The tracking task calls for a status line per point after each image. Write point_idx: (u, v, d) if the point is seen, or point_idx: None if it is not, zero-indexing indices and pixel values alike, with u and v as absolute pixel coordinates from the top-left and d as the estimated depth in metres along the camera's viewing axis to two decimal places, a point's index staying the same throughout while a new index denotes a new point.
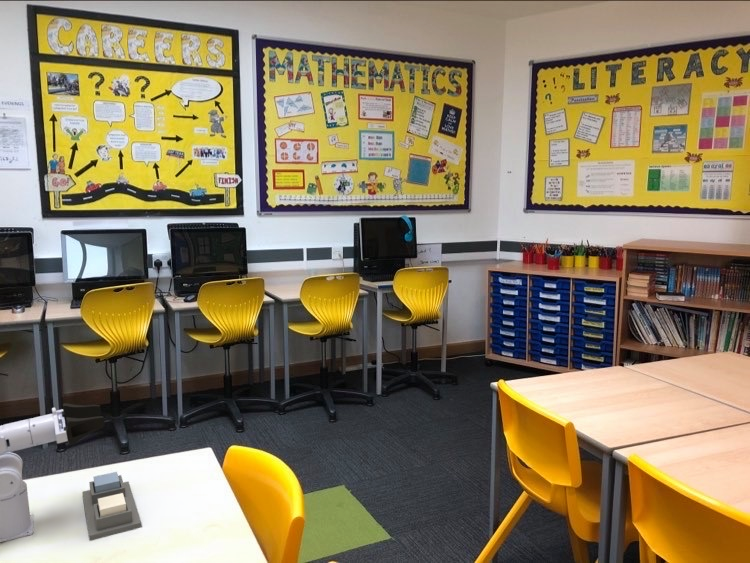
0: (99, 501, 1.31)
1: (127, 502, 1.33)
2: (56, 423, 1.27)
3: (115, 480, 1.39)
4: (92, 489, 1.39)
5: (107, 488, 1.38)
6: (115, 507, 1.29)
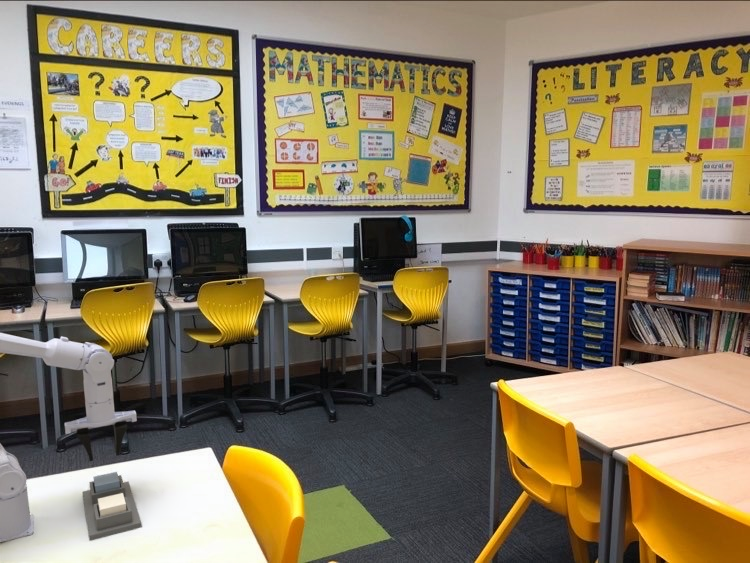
0: (99, 501, 1.31)
1: (127, 502, 1.33)
2: None
3: (115, 480, 1.39)
4: (92, 489, 1.39)
5: (107, 488, 1.38)
6: (115, 507, 1.29)
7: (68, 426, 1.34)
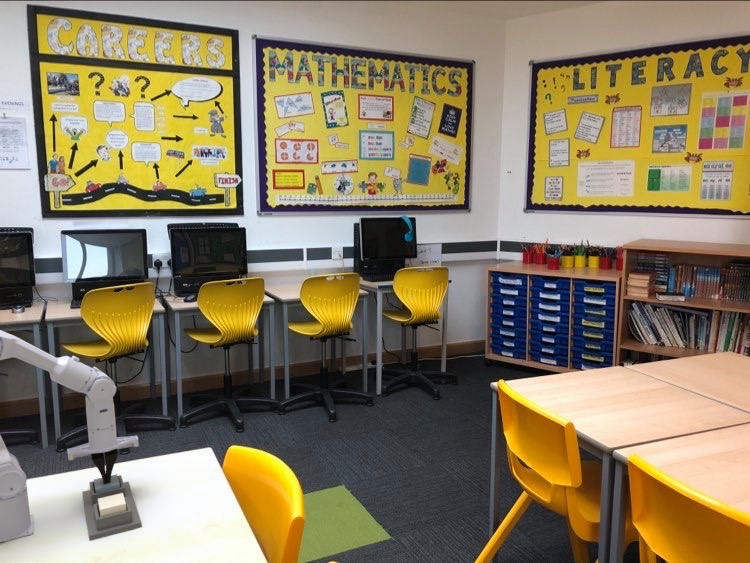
0: (99, 501, 1.31)
1: (127, 502, 1.33)
2: None
3: (116, 483, 1.40)
4: (92, 489, 1.39)
5: None
6: (115, 507, 1.29)
7: (71, 452, 1.35)
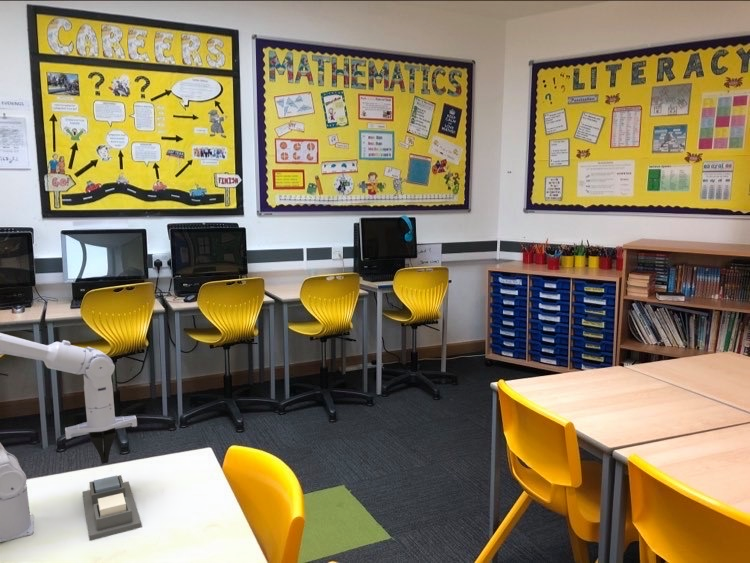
0: (99, 501, 1.31)
1: (127, 502, 1.33)
2: None
3: (116, 484, 1.40)
4: (92, 489, 1.39)
5: None
6: (115, 507, 1.29)
7: (68, 431, 1.34)
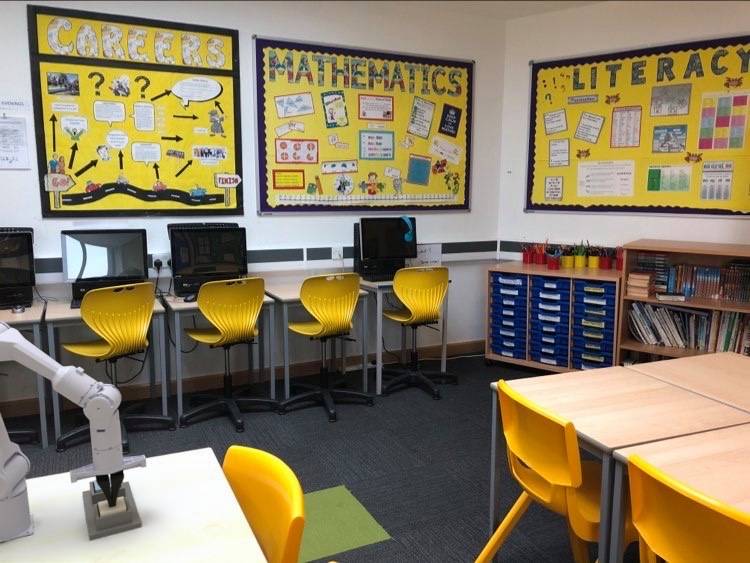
0: (99, 505, 1.31)
1: (127, 502, 1.33)
2: None
3: None
4: (92, 489, 1.39)
5: None
6: (115, 511, 1.29)
7: (74, 475, 1.25)
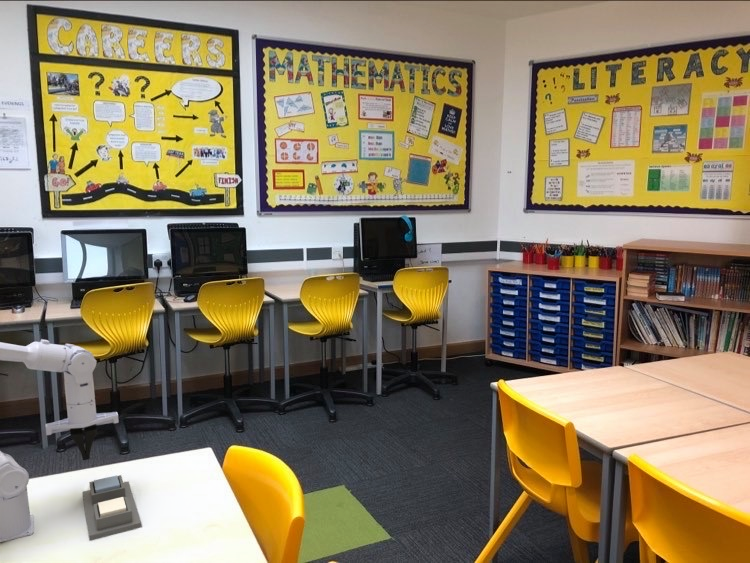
0: (99, 505, 1.31)
1: (127, 502, 1.33)
2: None
3: (116, 484, 1.40)
4: (92, 489, 1.39)
5: None
6: (115, 511, 1.29)
7: (49, 427, 1.33)
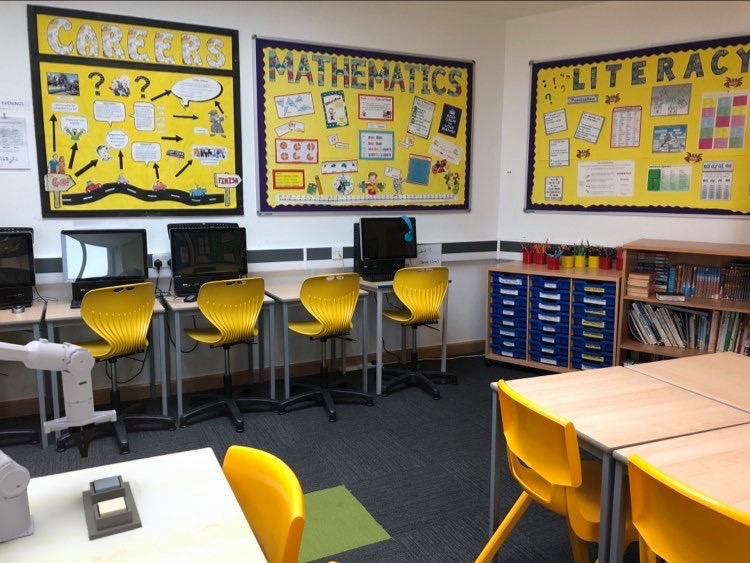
0: (99, 505, 1.31)
1: (127, 502, 1.33)
2: None
3: (116, 484, 1.40)
4: (92, 489, 1.39)
5: None
6: (115, 511, 1.29)
7: (47, 426, 1.34)
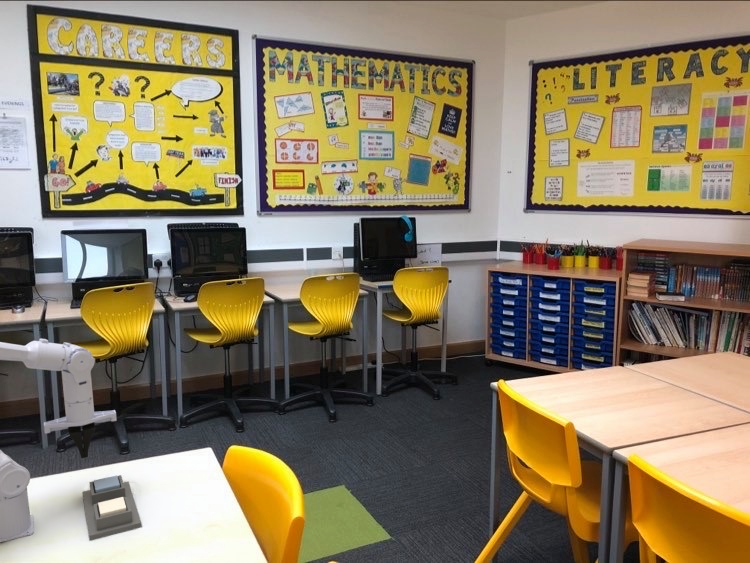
0: (99, 505, 1.31)
1: (127, 502, 1.33)
2: None
3: (116, 484, 1.40)
4: (92, 489, 1.39)
5: None
6: (115, 511, 1.29)
7: (47, 426, 1.34)
